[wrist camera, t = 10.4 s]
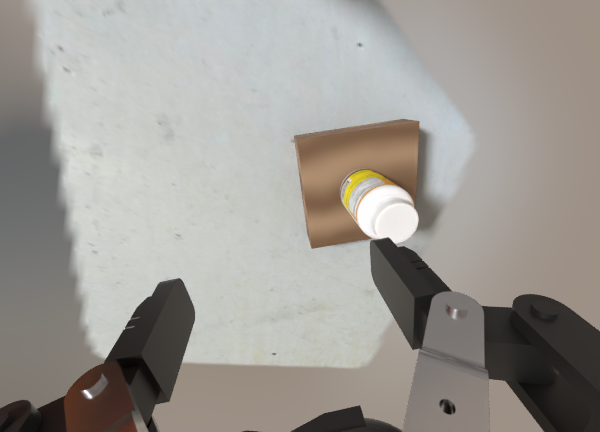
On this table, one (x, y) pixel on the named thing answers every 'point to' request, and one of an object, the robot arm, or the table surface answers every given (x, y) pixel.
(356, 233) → the walnut plinth
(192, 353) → the table surface
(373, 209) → the supplement bottle
